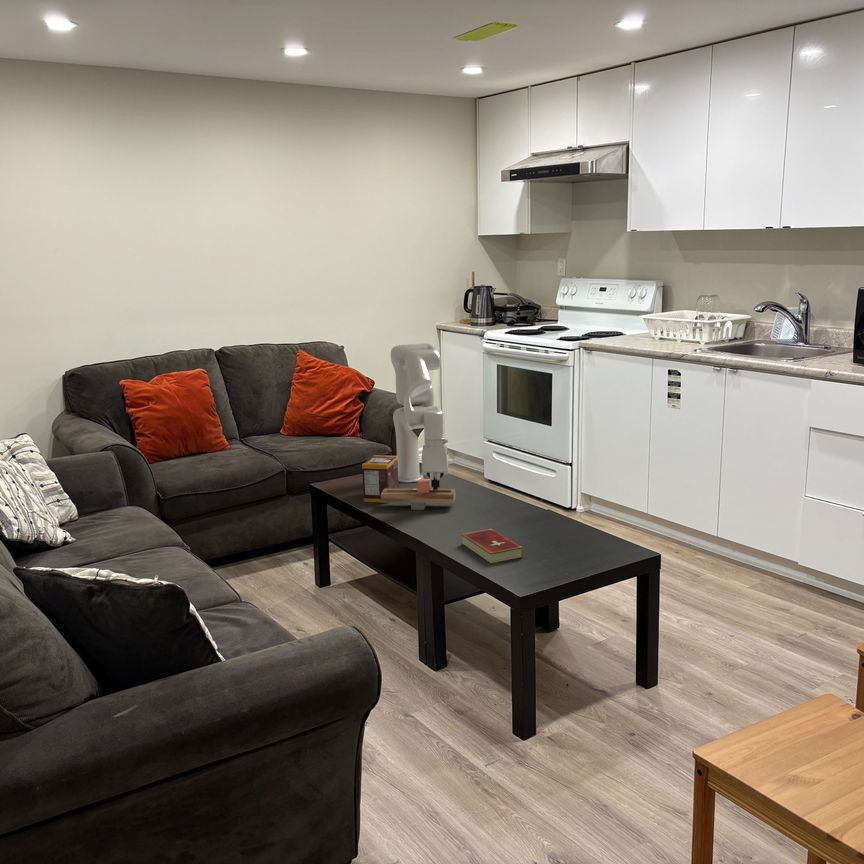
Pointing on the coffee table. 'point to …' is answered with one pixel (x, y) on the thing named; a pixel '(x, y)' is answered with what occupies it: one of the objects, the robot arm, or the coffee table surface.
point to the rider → (423, 486)
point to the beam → (418, 496)
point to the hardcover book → (492, 545)
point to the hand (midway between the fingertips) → (435, 489)
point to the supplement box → (379, 476)
